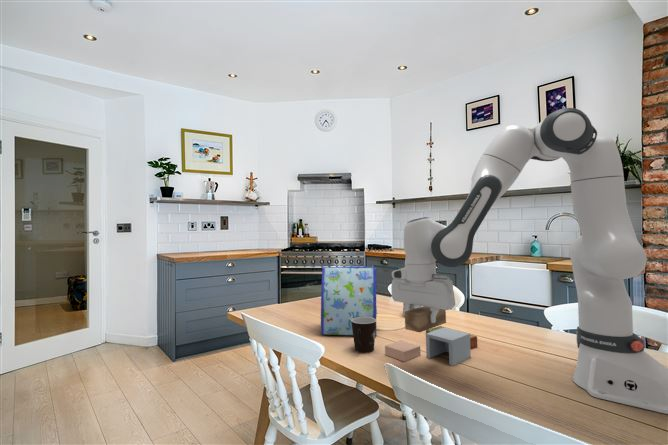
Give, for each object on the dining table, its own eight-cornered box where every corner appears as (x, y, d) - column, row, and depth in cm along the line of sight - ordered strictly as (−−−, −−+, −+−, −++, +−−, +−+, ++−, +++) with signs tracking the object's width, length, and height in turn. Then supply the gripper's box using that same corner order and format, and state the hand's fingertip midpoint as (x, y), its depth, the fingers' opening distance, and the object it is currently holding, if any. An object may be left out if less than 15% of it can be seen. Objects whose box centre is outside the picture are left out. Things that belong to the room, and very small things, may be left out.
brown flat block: (461, 353, 117) (461, 340, 117) (425, 340, 130) (424, 329, 130) (477, 348, 121) (477, 335, 121) (440, 336, 135) (440, 325, 135)
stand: (420, 355, 115) (420, 346, 115) (404, 361, 110) (404, 352, 110) (401, 349, 121) (400, 340, 121) (385, 354, 116) (384, 345, 116)
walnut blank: (446, 322, 107) (445, 306, 107) (419, 332, 99) (418, 314, 99) (432, 320, 111) (431, 303, 111) (405, 329, 103) (404, 311, 103)
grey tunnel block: (470, 357, 112) (470, 333, 112) (452, 365, 106) (452, 340, 106) (444, 349, 119) (444, 327, 119) (426, 357, 113) (425, 333, 113)
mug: (402, 313, 168) (401, 292, 168) (422, 314, 167) (421, 292, 167) (403, 320, 156) (403, 298, 156) (425, 321, 155) (424, 298, 155)
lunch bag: (377, 325, 150) (376, 263, 150) (378, 338, 133) (376, 268, 133) (325, 325, 152) (323, 264, 152) (319, 337, 135) (318, 269, 135)
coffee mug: (363, 343, 127) (362, 315, 127) (382, 349, 121) (381, 319, 121) (340, 352, 119) (339, 322, 119) (359, 358, 113) (358, 327, 113)
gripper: (458, 274, 98) (461, 324, 98) (400, 269, 114) (402, 313, 114) (445, 277, 94) (448, 329, 94) (387, 272, 110) (389, 316, 110)
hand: (422, 320), depth 104 cm, fingers closed on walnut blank, 5 cm apart
